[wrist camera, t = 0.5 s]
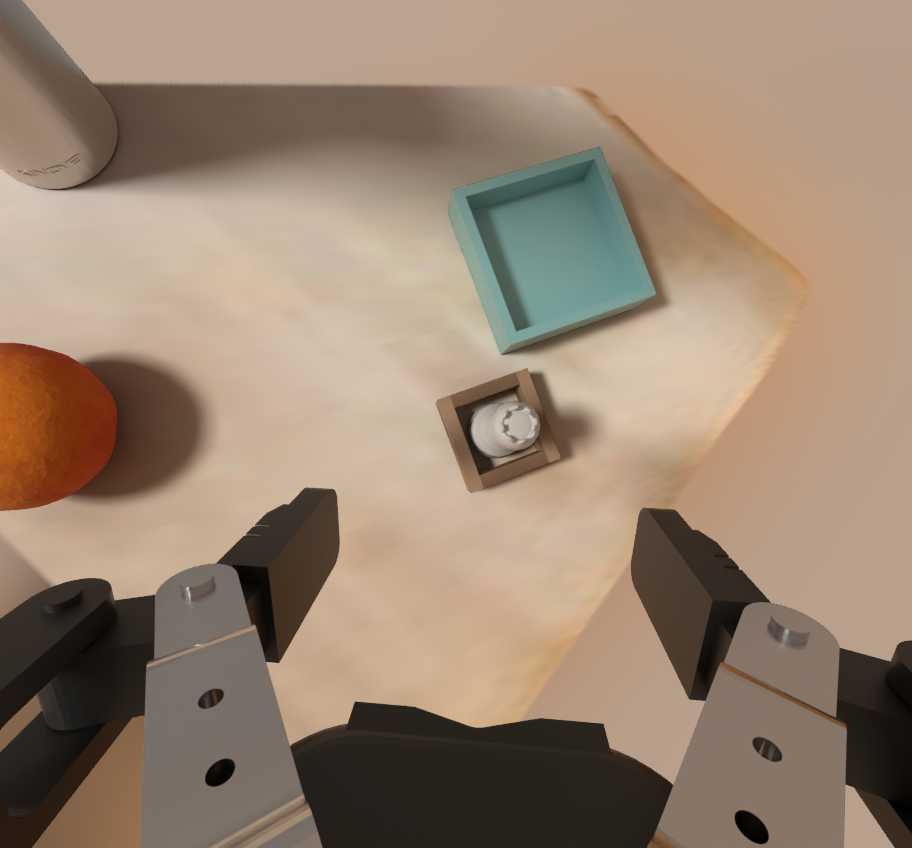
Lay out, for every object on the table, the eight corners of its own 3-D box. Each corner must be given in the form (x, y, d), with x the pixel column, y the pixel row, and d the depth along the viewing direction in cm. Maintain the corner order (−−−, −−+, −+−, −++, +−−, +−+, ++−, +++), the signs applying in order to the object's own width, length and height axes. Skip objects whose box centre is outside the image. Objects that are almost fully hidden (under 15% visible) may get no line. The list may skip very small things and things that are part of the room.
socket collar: (435, 403, 35) (437, 399, 33) (520, 372, 36) (527, 368, 34) (467, 490, 35) (471, 492, 33) (552, 457, 36) (560, 458, 34)
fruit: (132, 507, 32) (43, 525, 24) (-24, 498, 31) (-170, 513, 23) (151, 366, 33) (71, 338, 25) (0, 351, 32) (-134, 318, 24)
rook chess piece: (456, 430, 35) (470, 424, 27) (494, 392, 36) (519, 375, 28) (494, 469, 35) (520, 474, 27) (532, 430, 36) (567, 424, 28)
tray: (448, 213, 36) (452, 189, 33) (583, 173, 38) (600, 146, 35) (500, 354, 36) (510, 344, 33) (634, 308, 38) (656, 294, 34)
